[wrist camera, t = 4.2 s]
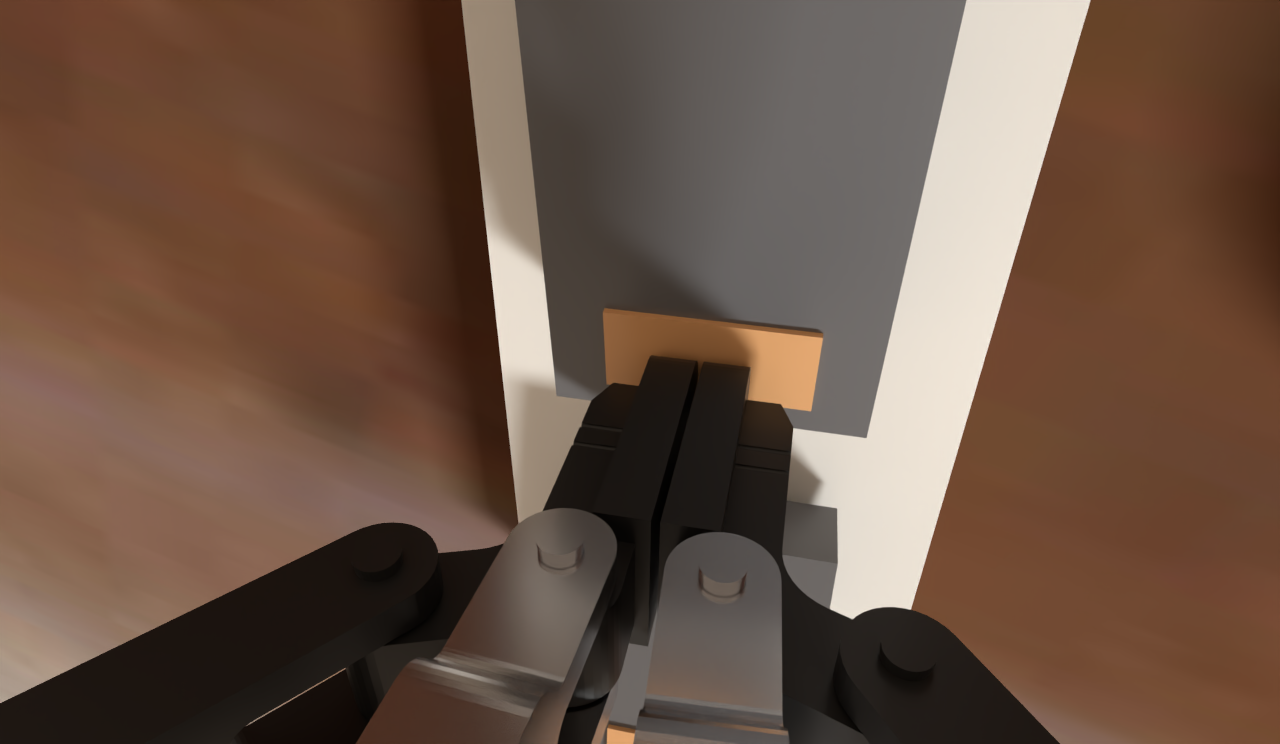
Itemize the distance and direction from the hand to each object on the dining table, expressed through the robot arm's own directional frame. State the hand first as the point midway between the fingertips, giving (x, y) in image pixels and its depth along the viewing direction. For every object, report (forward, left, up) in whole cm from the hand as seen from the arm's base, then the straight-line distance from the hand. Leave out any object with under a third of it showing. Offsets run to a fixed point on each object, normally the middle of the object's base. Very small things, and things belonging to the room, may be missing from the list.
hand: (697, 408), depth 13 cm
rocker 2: (0, -3, -2) cm, 4 cm away
